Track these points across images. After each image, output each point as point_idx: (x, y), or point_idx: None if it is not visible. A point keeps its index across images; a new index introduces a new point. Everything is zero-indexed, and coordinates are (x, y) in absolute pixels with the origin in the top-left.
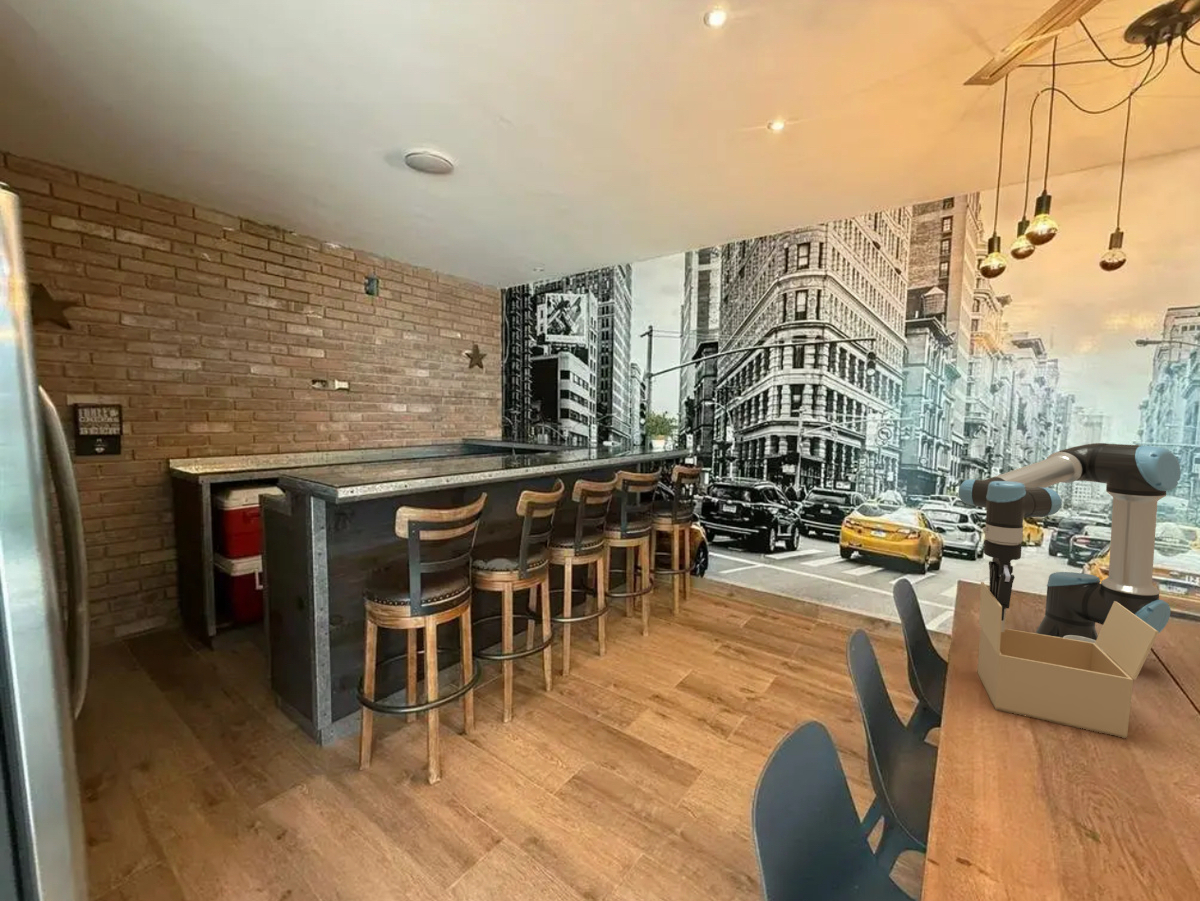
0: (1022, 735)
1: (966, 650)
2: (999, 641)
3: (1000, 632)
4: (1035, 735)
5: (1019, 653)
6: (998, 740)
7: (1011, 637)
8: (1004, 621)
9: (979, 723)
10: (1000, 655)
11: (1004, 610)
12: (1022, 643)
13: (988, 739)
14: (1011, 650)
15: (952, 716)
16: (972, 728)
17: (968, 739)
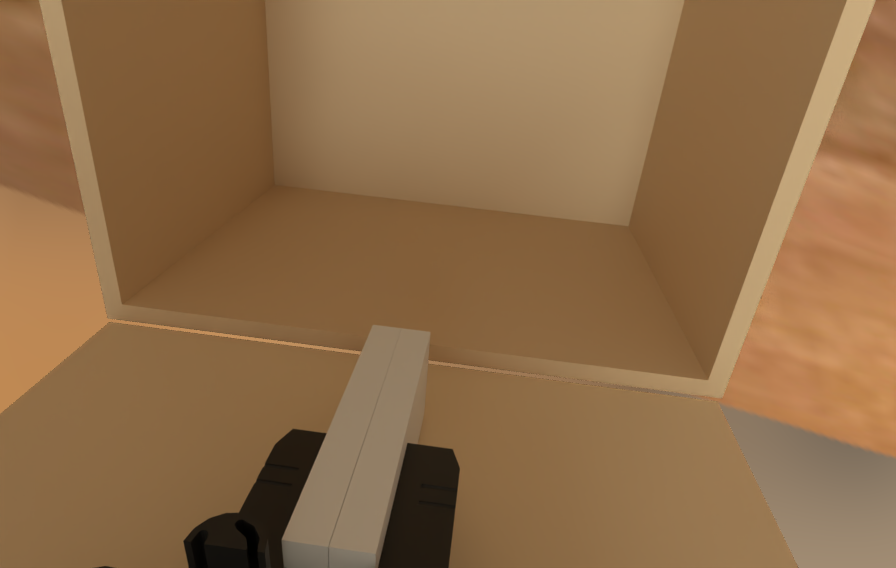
0: (838, 199)
1: (17, 161)
2: (751, 483)
3: (795, 562)
4: (831, 142)
5: (187, 20)
6: (889, 305)
7: (129, 97)
8: (410, 410)
9: (767, 330)
10: (723, 394)
11: (385, 530)
12: (135, 6)
13: (885, 336)
14: (188, 75)
15: (732, 403)
16: (810, 364)
17: (891, 399)
